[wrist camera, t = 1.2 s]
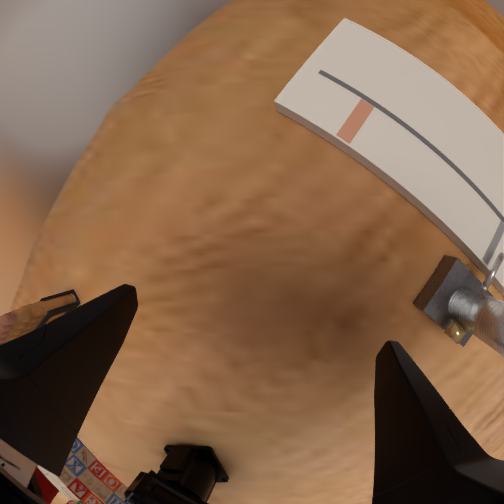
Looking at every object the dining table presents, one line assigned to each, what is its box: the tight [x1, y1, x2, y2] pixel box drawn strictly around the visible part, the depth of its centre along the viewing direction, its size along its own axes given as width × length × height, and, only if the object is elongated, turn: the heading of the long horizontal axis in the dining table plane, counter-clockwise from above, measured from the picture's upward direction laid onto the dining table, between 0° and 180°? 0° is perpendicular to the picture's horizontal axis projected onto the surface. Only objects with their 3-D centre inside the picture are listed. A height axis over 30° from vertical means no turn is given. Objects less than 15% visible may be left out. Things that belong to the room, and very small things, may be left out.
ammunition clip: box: [0, 290, 80, 345], centre depth 23 cm, size 11×2×12 cm, turn 125°
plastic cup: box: [35, 467, 59, 504], centre depth 30 cm, size 11×11×12 cm
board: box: [274, 18, 504, 297], centre depth 18 cm, size 28×12×2 cm, turn 55°
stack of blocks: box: [37, 437, 127, 504], centre depth 25 cm, size 21×6×12 cm, turn 40°
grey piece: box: [413, 252, 504, 357], centre depth 13 cm, size 8×6×13 cm
